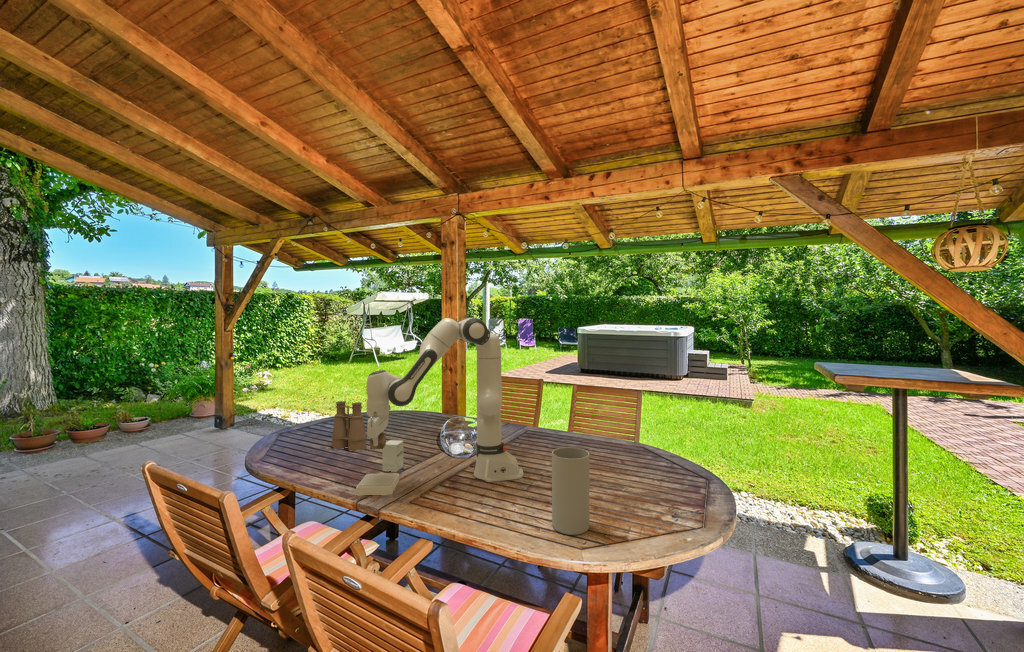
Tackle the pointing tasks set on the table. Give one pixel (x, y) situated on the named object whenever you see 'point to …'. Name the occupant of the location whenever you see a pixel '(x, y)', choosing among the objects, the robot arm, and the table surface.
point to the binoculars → (349, 427)
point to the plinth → (377, 484)
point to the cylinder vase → (570, 490)
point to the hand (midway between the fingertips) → (378, 443)
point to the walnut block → (381, 442)
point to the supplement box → (392, 456)
